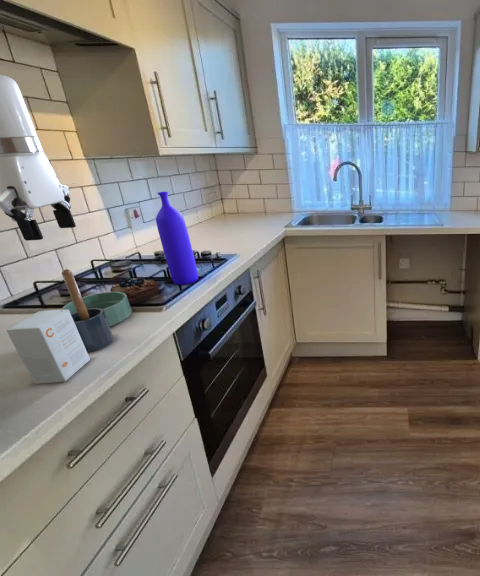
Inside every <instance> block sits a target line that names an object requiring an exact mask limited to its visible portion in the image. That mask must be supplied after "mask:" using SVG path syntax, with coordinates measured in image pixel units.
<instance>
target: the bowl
mask: <svg viewBox="0 0 480 576" xmlns="http://www.w3.org/2000/svg"><path fill="white" fill-rule="evenodd" d="M82 299H83V301H84V304H85V306H86V309H91V308H100V309H102V310H103V311H104V313H105V316H106V319H107V321H108V324H109V327H111V326H114V325H116V324H119V323H121V322H123V321H125V320H126V319H128V318H129V317H130V316H131V314H132V312H133V309H132V307H131V304H129V301H128V298H127V295H126V294H125V293H122V292H111V291H105V292H97V293H94V294H89V295H86V296H82ZM60 310H69V311H70V314H73V313H75V312H77V310H76V308H75V305H74V303H73V301H72V300H71V301H70V302H68V303H67V304H65V305H64V306H63V307H62V308H61V309H60Z"/></svg>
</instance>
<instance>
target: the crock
mask: <svg viewBox="0 0 480 576" xmlns="http://www.w3.org/2000/svg"><path fill="white" fill-rule="evenodd" d="M87 311H88V314H89V316H90V319H87V320H83V321H81V320H80V318H79V315H78V313H77V312H75V313H73V314H71V316H72V318H73V321H74V323H75V325H76V328H77V330H78V332H79V335H80V337H81V339H82V342H83V344H84V346H85V349H86V351H87V353H92V352H96V351H99V350H102V349H104V348H106V347H108V346H110V345H111V344H113V342H114V341H115V338H114V335H113V332H112V330H111V326H109V324H108V321H107V319H106V316H105V313H104V311H103V310H102V309H100V308H91V309H87Z"/></svg>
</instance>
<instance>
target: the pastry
mask: <svg viewBox="0 0 480 576" xmlns="http://www.w3.org/2000/svg"><path fill="white" fill-rule="evenodd" d="M156 282H157V281H155V280H149V279H145V277H143V276H138V277H137V278H134V277H133V278H132V277H131V278H130V277H126V278H125V279H124V280H122V281H121V282H120V283H116V284H114V285H112V286H111V287H110V289H109V292H122V293H125V294H126V295H127V298H128V301H129V304H130V305H134V304H137V303H140V302H143V301H146V300H149V299H152V298H153V297H155V296H158V295H159V294H160V290H159V286H158V284H157V283H156Z"/></svg>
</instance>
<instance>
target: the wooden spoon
mask: <svg viewBox="0 0 480 576" xmlns="http://www.w3.org/2000/svg"><path fill="white" fill-rule="evenodd" d="M72 271H73V270H71V269H68V268H66V269H63V270H62V271H61V276H62V278H63V281H64V283H65V286H66V288H67V291H68V293H69V295H70V296H69V297H70V298H71V302H72V301H73V303H74V305H75V308H76V310H77V313H78V315H79V318H80V320H81V321H83V320H87V319H90V316H89V314H88V311H87V309H86V306H85V304H84V301H83V299H82V297H83V296H82V294H81V291H80V289H79V287H78V284H77V281H76V279H75V276H74V274H73V272H72Z"/></svg>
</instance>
